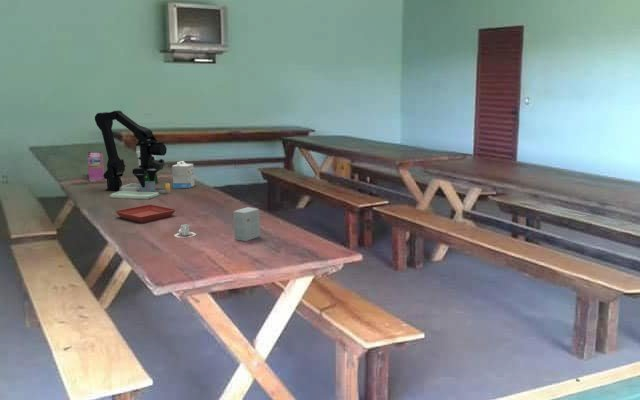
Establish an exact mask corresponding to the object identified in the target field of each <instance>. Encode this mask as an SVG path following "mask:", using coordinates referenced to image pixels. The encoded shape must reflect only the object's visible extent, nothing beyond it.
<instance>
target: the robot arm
mask: <svg viewBox="0 0 640 400" xmlns="http://www.w3.org/2000/svg"><path fill="white" fill-rule="evenodd" d="M115 120H116V121H117V122H118V123H120V124H121V125H122V126H123V127H125V128H126V129H128V130H129V131H130V132H131V133H132V134H133V136H134V137H135V139H136V140H138V142H136V144H135V147H136V146H137V147H139V150H140V157H139V159H140V160H141V165H140V166H139V165H138V167H137V166H136V167H134V168H133V169H132V175H134V176H135V177H136V179H137V181H138V183H139V182H140V184H141V186H142V187H143V188H144V187H145V177H146V176H147V175H148V176H149V179H150V181H154V180H155V176H156V173H157V174H158V172H161V171H160V170H163V168H164V166H165V165H166V164H165V160H164V159H162V158H160V159H156V160H155V159H154V156H152V155H156V156H159V157H160V156H165V155H166V154H167V150H168V149H167V146H166V144H164V141H158V140H157V138H156V137H155V135H154V134H153V131H152V130H151V129H149V128H148V127H147V126H146V127H145V126H143V125H140V124H138V123H137V122H135V121H134V120H133V119H131V118H130V117H128V115H126V114H125V113H123V111H121V110H112V111H110V112H109V111H104V112H98V113H96V114H95V116H94V121H95V123H96V126H97V128H98V129H99V130H100V132H101V134H102V138H103V142H104V147H105V150H106V155H107V163H106V167H107V168H106V171H104V175H103V176H104V180H106V187H107V188H106V189H105V191H114V192H115V191H116V192H118V191H120V187H121V186H123V181H122V177H123V175H124V172H125V171H126V165H125V160H124V159H123V158H122V159H121V158H120V157H119V155H118V150H117V147H116V142H115V138H114V134H113V130H112V129H113V124H114V121H115ZM147 173H148V174H147Z"/></svg>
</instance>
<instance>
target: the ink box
mask: <svg viewBox="0 0 640 400" xmlns="http://www.w3.org/2000/svg"><path fill="white" fill-rule="evenodd" d="M171 168H172V187H173V188H174V189H190V188H192V187H194V186H195V173H194V171H195V170H194V163H186V162H185V161H184V160H180V161H177V162H176V164H173V165H172V166H171Z"/></svg>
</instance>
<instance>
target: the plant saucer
mask: <svg viewBox="0 0 640 400" xmlns="http://www.w3.org/2000/svg"><path fill="white" fill-rule="evenodd" d="M176 210H177V209H175V208H171V207H166V206H160V205H155V204H145V205H140V206H139V205H138V206H135V207H129V208H124V209H118V210H115V211H114V212H115V214H117V216H119V217H120V218H122V219H125V220H128V221H132V222H133V221H134V222H138V223H146V222H151V221H155V220H159V219H160V220H161V219H164V218H169V217H172V216H173V214H175V212H176Z"/></svg>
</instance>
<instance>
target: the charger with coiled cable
mask: <svg viewBox="0 0 640 400" xmlns="http://www.w3.org/2000/svg"><path fill="white" fill-rule="evenodd" d="M191 234H192V235H191ZM179 235H182V236H179ZM189 235H190V236H189ZM196 235H197V233H195V232H193V231H190V224H189V223H188V224H185V223H184V224H181V225H180V228H179V229H178V232H177V233H174V237H175V238H179V239H181V238H182V239H183V238H193V237H195V236H196Z"/></svg>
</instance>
